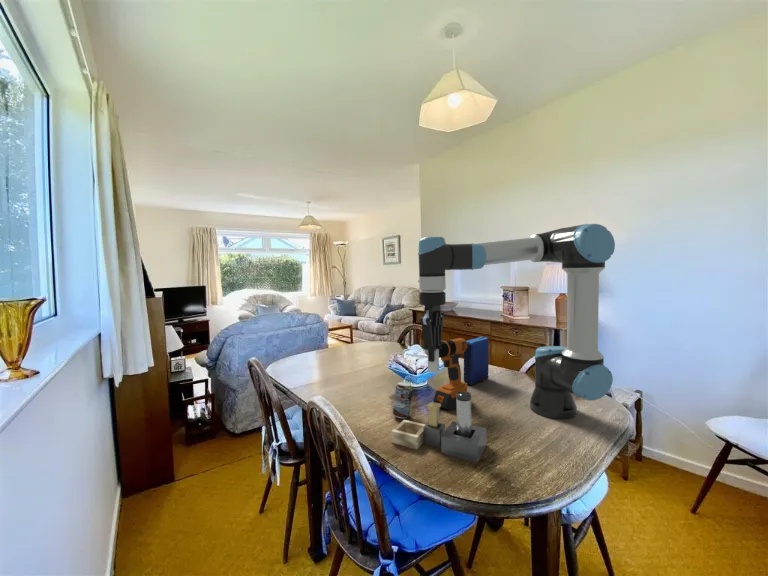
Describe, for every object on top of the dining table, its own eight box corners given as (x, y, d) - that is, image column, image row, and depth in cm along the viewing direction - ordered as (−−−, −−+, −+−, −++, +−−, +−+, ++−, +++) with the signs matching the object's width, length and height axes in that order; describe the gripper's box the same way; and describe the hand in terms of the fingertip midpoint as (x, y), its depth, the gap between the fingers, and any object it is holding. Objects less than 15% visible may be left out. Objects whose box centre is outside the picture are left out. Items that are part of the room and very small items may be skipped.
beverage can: (389, 417, 121) (388, 384, 120) (403, 410, 126) (402, 378, 126) (402, 422, 117) (401, 388, 116) (416, 415, 122) (415, 382, 121)
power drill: (435, 417, 120) (434, 347, 119) (420, 410, 126) (419, 343, 124) (473, 400, 134) (472, 337, 132) (458, 395, 140) (457, 335, 138)
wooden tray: (428, 439, 105) (428, 425, 105) (417, 452, 98) (417, 437, 98) (404, 433, 109) (403, 419, 109) (391, 445, 102) (391, 431, 102)
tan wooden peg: (441, 429, 102) (441, 403, 102) (437, 433, 99) (437, 407, 99) (431, 426, 104) (430, 401, 103) (427, 431, 101) (426, 405, 100)
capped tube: (473, 447, 98) (472, 392, 97) (469, 454, 94) (468, 397, 93) (459, 444, 100) (458, 390, 99) (455, 450, 97) (454, 395, 95)
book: (481, 376, 162) (480, 334, 161) (490, 379, 158) (490, 336, 156) (462, 384, 153) (461, 339, 151) (472, 387, 149) (472, 341, 147)
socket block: (486, 448, 99) (486, 428, 99) (477, 466, 91) (477, 444, 90) (432, 435, 107) (432, 417, 107) (420, 450, 99) (419, 430, 98)
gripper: (429, 289, 106) (430, 363, 108) (410, 292, 95) (412, 376, 96) (452, 289, 103) (453, 366, 104) (436, 293, 91) (437, 380, 93)
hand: (433, 371), depth 100 cm, fingers closed
